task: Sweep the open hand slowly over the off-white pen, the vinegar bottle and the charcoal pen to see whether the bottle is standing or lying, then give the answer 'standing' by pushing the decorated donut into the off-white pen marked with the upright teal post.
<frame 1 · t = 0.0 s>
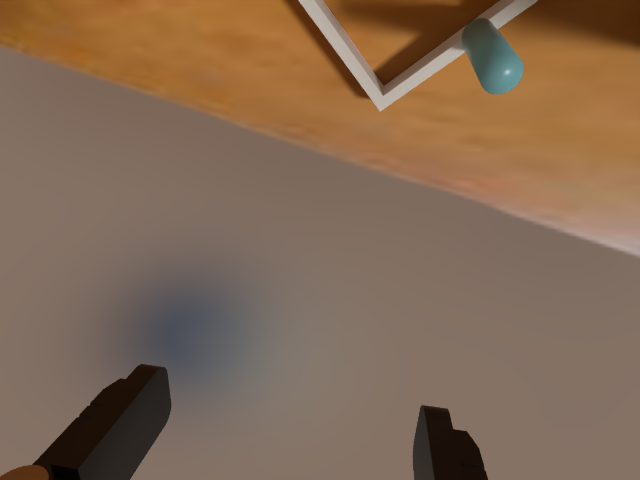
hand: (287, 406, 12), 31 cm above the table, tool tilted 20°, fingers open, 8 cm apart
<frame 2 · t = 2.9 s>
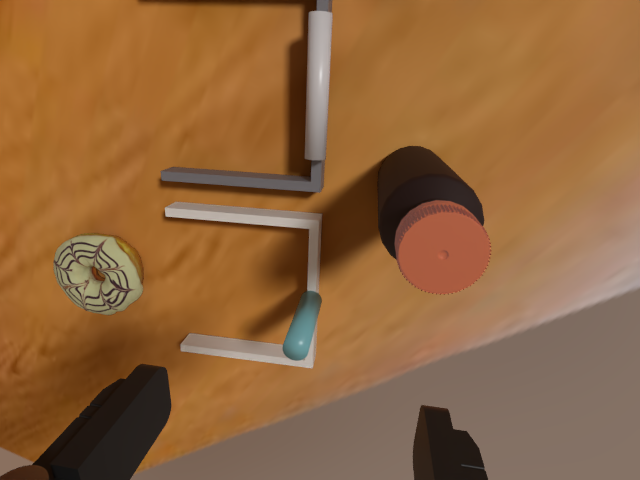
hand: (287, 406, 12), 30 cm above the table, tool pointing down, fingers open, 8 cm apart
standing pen: (249, 282, 45), on the table
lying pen: (244, 87, 37), on the table
decorated donut: (111, 266, 48), on the table
vinegar: (410, 178, 39), on the table
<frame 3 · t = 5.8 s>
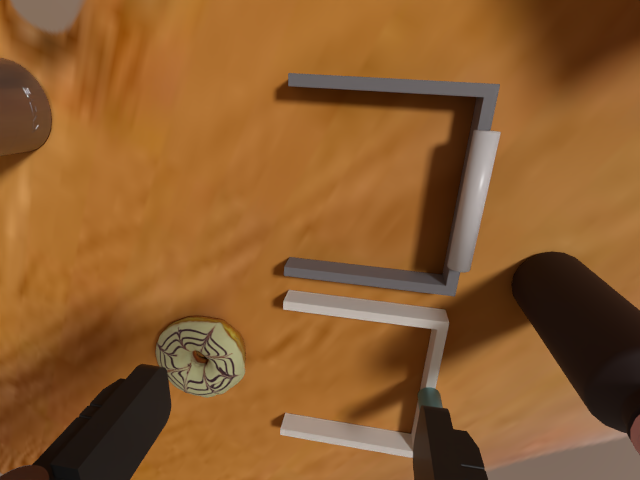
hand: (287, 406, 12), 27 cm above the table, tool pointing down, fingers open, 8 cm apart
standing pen: (357, 369, 44), on the table
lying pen: (377, 186, 36), on the table
decorated donut: (209, 345, 47), on the table
vinegar: (546, 280, 37), on the table
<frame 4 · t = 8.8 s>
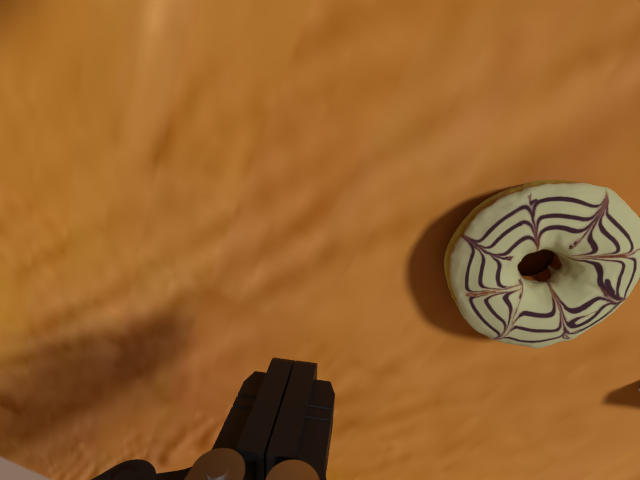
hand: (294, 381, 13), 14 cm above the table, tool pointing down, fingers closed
decorated donut: (524, 251, 25), on the table
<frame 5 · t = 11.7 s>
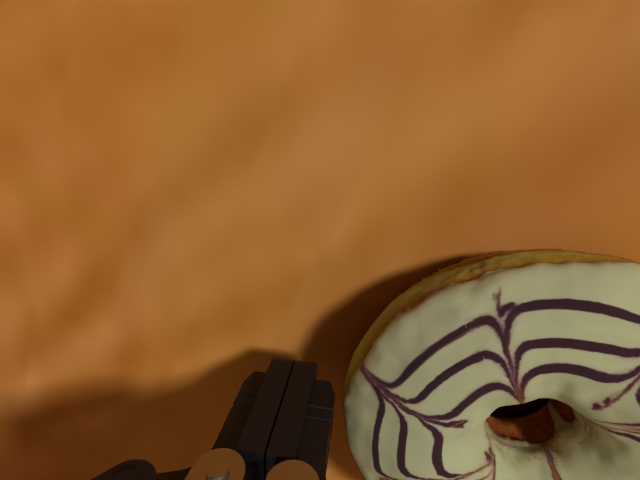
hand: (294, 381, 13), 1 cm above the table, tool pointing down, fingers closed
decorated donut: (504, 366, 13), on the table, touching gripper
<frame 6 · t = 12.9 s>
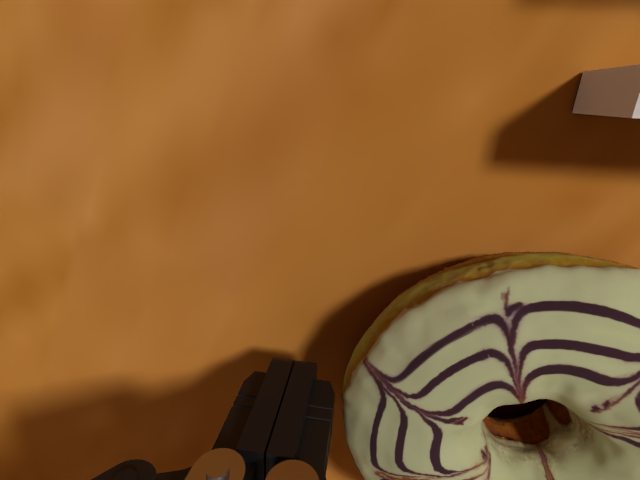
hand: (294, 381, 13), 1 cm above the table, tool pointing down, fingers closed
decorated donut: (501, 368, 13), on the table
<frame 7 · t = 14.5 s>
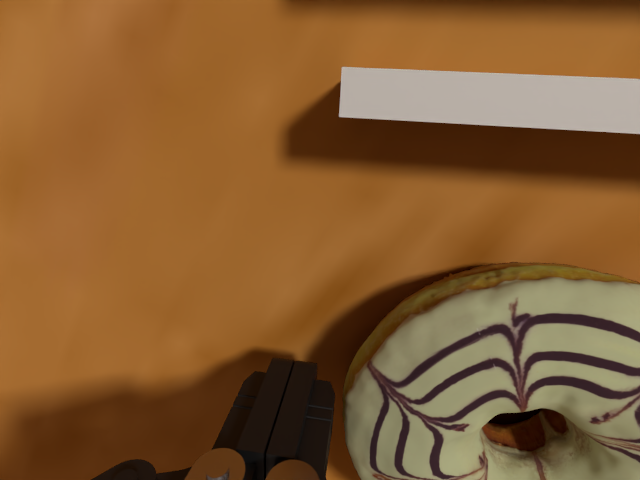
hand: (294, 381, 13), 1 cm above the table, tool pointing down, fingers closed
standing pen: (579, 391, 13), on the table
decorated donut: (499, 374, 13), on the table
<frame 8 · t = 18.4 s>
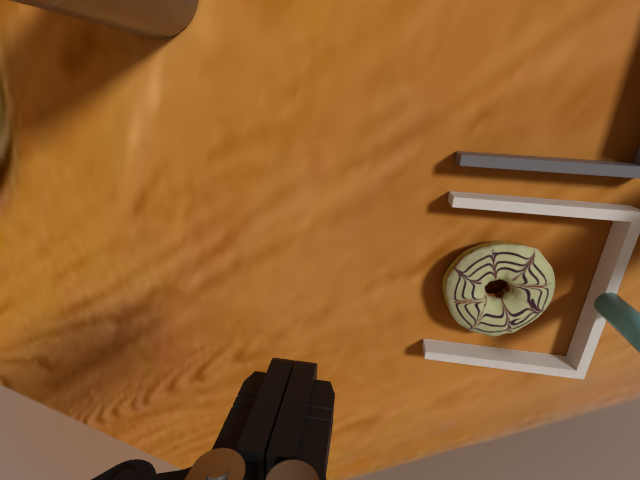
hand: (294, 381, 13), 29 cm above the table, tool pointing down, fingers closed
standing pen: (514, 282, 41), on the table
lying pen: (574, 58, 33), on the table
decorated donut: (490, 279, 41), on the table
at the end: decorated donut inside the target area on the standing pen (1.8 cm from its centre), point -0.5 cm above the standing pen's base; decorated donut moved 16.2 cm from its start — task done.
